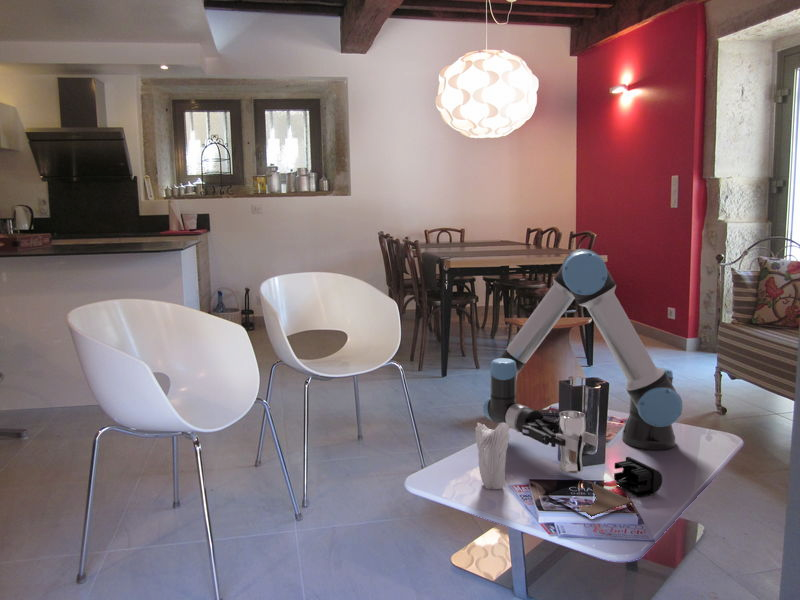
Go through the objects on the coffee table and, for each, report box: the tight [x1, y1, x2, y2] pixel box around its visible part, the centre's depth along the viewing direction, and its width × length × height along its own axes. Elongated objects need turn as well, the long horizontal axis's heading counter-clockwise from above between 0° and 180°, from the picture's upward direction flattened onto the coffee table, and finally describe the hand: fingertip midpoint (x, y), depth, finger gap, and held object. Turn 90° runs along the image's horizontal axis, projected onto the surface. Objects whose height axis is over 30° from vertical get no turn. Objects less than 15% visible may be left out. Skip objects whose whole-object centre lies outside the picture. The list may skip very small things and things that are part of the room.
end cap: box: [613, 456, 663, 499], centre depth 171 cm, size 10×7×7 cm
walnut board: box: [579, 480, 633, 517], centre depth 164 cm, size 14×14×1 cm
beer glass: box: [557, 410, 587, 474], centre depth 177 cm, size 7×7×15 cm
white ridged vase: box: [474, 422, 510, 490], centre depth 171 cm, size 8×8×18 cm
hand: (586, 443), depth 173 cm, fingers closed on beer glass, 6 cm apart
